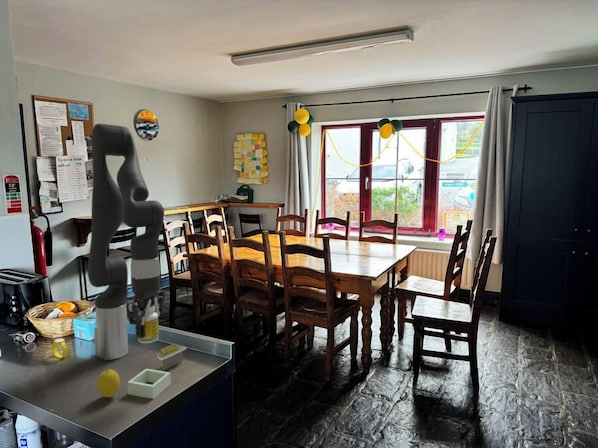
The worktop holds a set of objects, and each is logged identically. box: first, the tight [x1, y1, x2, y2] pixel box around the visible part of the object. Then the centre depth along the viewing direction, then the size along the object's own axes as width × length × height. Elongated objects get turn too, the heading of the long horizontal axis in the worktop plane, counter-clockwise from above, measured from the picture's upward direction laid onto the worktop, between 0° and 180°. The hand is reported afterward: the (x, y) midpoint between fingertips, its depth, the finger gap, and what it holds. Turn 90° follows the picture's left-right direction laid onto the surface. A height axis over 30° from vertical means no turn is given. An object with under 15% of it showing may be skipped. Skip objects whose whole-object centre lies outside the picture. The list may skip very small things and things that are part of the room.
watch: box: [51, 338, 69, 360], centre depth 135 cm, size 6×3×6 cm, turn 64°
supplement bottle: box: [137, 305, 160, 344], centre depth 114 cm, size 5×5×10 cm
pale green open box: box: [126, 368, 172, 400], centre depth 116 cm, size 8×8×4 cm
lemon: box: [96, 368, 121, 399], centre depth 111 cm, size 6×6×8 cm
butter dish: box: [156, 343, 187, 372], centre depth 130 cm, size 12×18×7 cm, turn 148°
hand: (147, 332), depth 114 cm, fingers closed on supplement bottle, 5 cm apart
